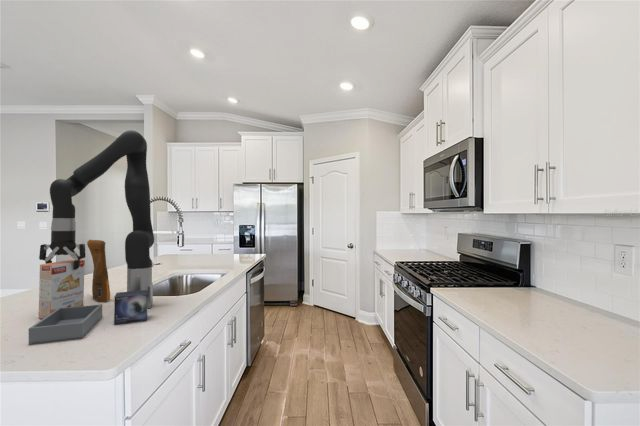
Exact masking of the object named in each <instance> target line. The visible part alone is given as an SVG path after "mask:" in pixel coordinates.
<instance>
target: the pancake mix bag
mask: <svg viewBox="0 0 640 426" xmlns="http://www.w3.org/2000/svg"><path fill="white" fill-rule="evenodd" d="M86 243H87V244H86V245H87V248H88V250H89V252H90V255H91V258H92V264H93V274H92V285H91V289H92V290H91V293H92V299H94V300H95V301H96V302H98V303H107V302H109V301H110V300H111V290H110V289H111V288H110V280H109V273H108V266H107V258H106V242H105V240H99V239H88V241H86Z"/></svg>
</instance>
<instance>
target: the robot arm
mask: <svg viewBox="0 0 640 426" xmlns="http://www.w3.org/2000/svg"><path fill="white" fill-rule="evenodd" d="M147 150H148V144H147V140H146V139H145V137H144V136H143V135H142V134H141V133H140V132H138V131H136V130H126V131H124V132H122V133H121V134H120V135H119V136H118V137H117V138H116V139H115V140H114V141H112V143H110V144H109V146H107V147H106V148H105V149H103V150H101V152H99V153H98V154H97V155H95V156H94V157H93V158H91V159H89V160H88V161H87V162H85V163H83V164H81V165H80V166H79V167H76V169H74V171H73V172H72V173H73V174H72V175H70V176H69V177H68V178H66V179H62V178H58V179H56V180H54V181H53V182H51V184H50V187H49V196H50V200H51V204H52V214H51V215H52V219H51V226H50V244H47V243H43V244H41V245H40V247H39V255H38V260H40V261H44V262H45V264H47V263H53V259H54V257H55V256H63V255H64V256H68V255H69V256H70V257H71V258H72V260H75V261H74V270H77V269H78V268H79V267H80V260H84V259H85V258H86V244H85V243H80V244H79V243H78V244H77V243H76V230H77V229H76V228H77V225H76V206H75V205H74V204H73V199H72V198H73V197H75V196H76V195H78V194H79V193H81V192H82V191H83V190H85V188H86V187H87V186H88V185H89V184H91V183H92V182H94V181H95V180H97V179H98V178H100V177H101V176H102V175H104V174H105V173H106V172H107V171H109V169H110V168H111V167H112V166H113V165H114V164H115V163H116V162H118V161H119V160H120V159H122V158H124V157H125V156H126V165H127V166H126V174H125V179H124V196H125V202H126V205H127V207H128V211H129V214H130V216H131V220H132V231H131V232H129V233H128V234H127V235H126V237H125V241H124V254H125V255H124V259H125V263H126V268H127V269H126V270H127V271H126V292H130V291H141V290H148V294H147V309H151V308H152V306H153V304H154V303H153V302H154V301H153V299H154V297H153V294H154V292H153V291H154V288H153V287H154V286H153V260H152V259H151V256H150V254H151V253H150V252H151V251H150V248H152V247H153V244H154V243H155V234H154V229H153V224H152V218H151V212H152V211H151V191H150V181H149V174H148V173H149V172H148V169H147V168H148V167H147V154H148V151H147ZM76 248H77V249H78V250H79V254H78V253H77V252H76V250H75V249H76ZM49 249H50V250H51V252H50V253H49V254H48V255H47V251H48V250H49Z"/></svg>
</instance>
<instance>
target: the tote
mask: <svg viewBox="0 0 640 426" xmlns="http://www.w3.org/2000/svg"><path fill="white" fill-rule="evenodd" d="M102 318H103V304H92V305H83V306H77V307H65V308H58V309H57V310H55V311H54V312H52V313H51V314H49V315H48V316H46V317H45V318H43V319H41V320H39V321H38V322H36V323H35V324H33V325H32V326H30V327H29V328H28V345H29V346H30V345H38V344H47V343H54V342H55V343H56V342H63V341H72V340H74V341H75V340H82V339H84V337H86V335H87V334H88V333H89V332H90V331H91V330H92V329H93V328H94V327H95V326H96V325H97V324H98V322H99V321H100V320H101V319H102Z"/></svg>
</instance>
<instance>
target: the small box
mask: <svg viewBox="0 0 640 426" xmlns="http://www.w3.org/2000/svg"><path fill="white" fill-rule="evenodd" d="M147 294H148V290H141V291H130V292H127V291H121V292H119V291H118V292H116V293H115V296H113V297H114V306H113V311H114V313H113V316H114V317H113V325H115V326H116V325H123V324H132V323H140V322H146V321H148V308H147Z"/></svg>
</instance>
